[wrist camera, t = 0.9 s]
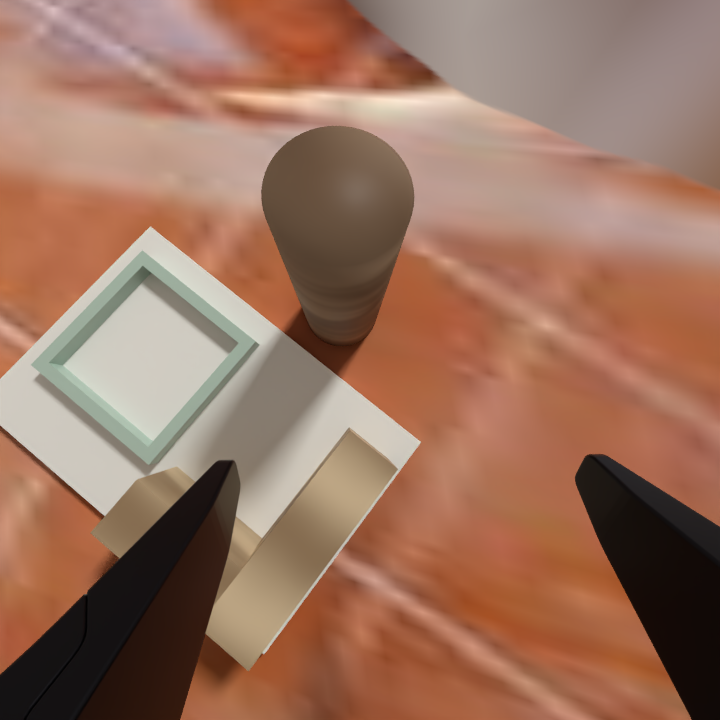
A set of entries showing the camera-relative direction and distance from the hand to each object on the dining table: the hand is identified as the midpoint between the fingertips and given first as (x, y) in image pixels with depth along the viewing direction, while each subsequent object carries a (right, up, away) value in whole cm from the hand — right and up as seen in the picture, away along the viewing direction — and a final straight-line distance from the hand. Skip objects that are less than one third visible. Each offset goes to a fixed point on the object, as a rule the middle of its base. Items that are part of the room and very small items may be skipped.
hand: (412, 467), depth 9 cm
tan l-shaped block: (-7, -4, +12) cm, 15 cm away
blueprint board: (-11, -1, +13) cm, 17 cm away
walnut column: (-3, +6, +14) cm, 15 cm away
